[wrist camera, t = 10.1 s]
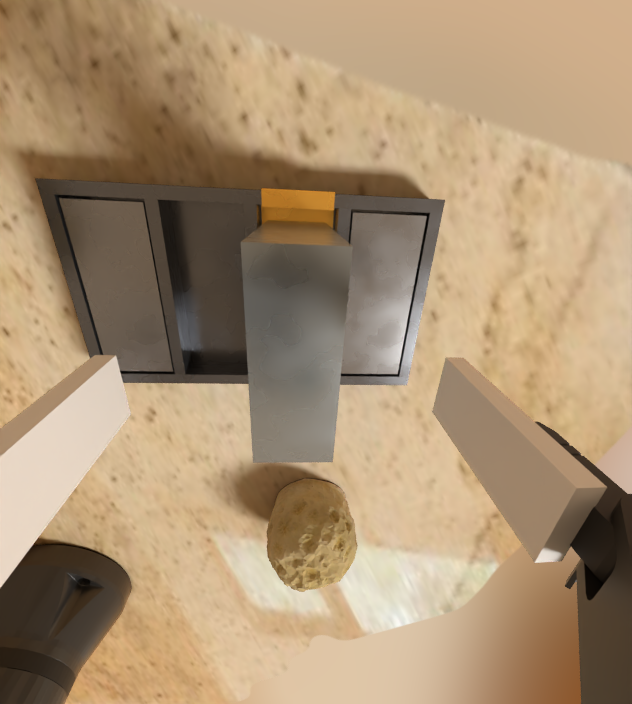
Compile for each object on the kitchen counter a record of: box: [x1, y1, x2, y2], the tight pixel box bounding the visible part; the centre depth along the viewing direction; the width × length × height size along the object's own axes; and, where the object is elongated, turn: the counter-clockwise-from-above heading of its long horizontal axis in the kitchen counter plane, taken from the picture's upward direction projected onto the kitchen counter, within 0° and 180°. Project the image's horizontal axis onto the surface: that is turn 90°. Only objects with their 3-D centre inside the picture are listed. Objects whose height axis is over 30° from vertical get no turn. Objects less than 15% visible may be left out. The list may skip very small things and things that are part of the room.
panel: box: [241, 220, 353, 463], centre depth 19 cm, size 4×10×12 cm, turn 177°
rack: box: [35, 178, 445, 385], centre depth 23 cm, size 25×14×3 cm, turn 87°
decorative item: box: [267, 478, 357, 592], centre depth 33 cm, size 10×10×10 cm
